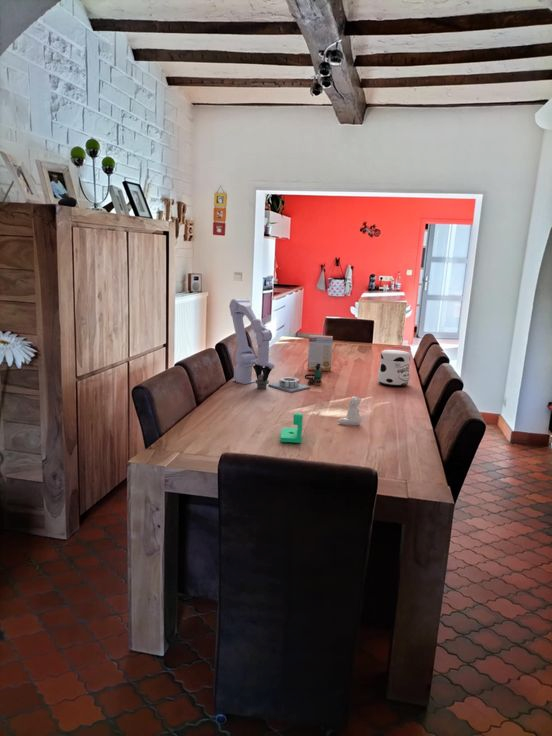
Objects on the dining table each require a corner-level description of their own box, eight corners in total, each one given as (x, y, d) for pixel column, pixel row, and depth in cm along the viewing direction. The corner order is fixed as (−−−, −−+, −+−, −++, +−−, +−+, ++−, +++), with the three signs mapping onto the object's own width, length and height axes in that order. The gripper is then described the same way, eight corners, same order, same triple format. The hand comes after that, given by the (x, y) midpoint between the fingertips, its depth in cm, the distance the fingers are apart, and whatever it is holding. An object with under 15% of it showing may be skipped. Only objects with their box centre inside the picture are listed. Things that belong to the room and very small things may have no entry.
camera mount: (282, 433, 210) (283, 408, 208) (301, 434, 210) (303, 409, 207) (279, 444, 198) (281, 417, 196) (300, 445, 198) (302, 418, 196)
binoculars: (305, 363, 294) (323, 363, 292) (306, 382, 296) (324, 382, 294) (302, 366, 285) (321, 366, 283) (303, 385, 287) (322, 385, 285)
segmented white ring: (275, 384, 280) (275, 378, 279) (288, 382, 287) (288, 376, 286) (289, 388, 273) (289, 382, 272) (302, 385, 280) (303, 380, 279)
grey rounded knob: (252, 388, 275) (252, 374, 274) (261, 386, 280) (262, 372, 279) (261, 390, 271) (262, 377, 269) (271, 388, 276) (271, 375, 274)
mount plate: (268, 386, 280) (268, 384, 280) (286, 382, 290) (287, 380, 290) (291, 392, 270) (291, 390, 269) (309, 388, 280) (309, 386, 279)
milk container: (409, 389, 287) (412, 356, 283) (376, 386, 290) (379, 353, 286) (408, 382, 303) (411, 350, 299) (377, 379, 306) (379, 348, 303)
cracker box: (330, 369, 326) (333, 335, 321) (330, 372, 320) (333, 337, 315) (307, 368, 327) (309, 334, 322) (307, 370, 321) (309, 335, 316)
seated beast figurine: (348, 418, 232) (350, 392, 229) (366, 423, 226) (368, 396, 224) (336, 423, 224) (338, 396, 222) (354, 428, 219) (356, 400, 216)
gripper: (247, 352, 274) (246, 378, 277) (267, 357, 264) (266, 383, 267) (257, 350, 279) (256, 376, 282) (277, 355, 269) (276, 381, 272)
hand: (262, 379), depth 274 cm, fingers closed on grey rounded knob, 4 cm apart
